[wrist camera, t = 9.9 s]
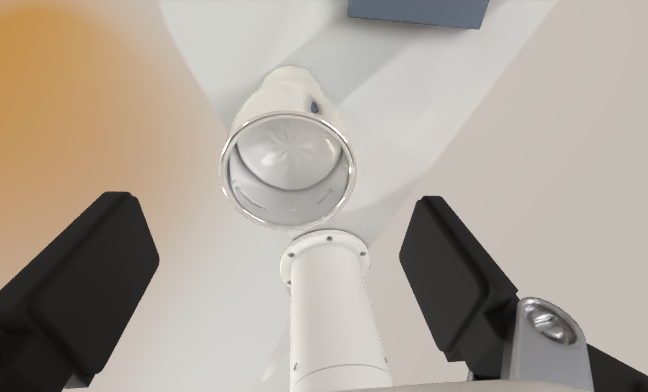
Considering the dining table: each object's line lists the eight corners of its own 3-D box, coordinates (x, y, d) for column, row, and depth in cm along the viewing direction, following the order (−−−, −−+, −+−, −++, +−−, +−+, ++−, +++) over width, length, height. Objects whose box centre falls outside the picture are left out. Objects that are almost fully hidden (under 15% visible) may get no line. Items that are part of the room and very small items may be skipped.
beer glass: (310, 45, 23) (331, 77, 10) (338, 119, 27) (377, 207, 14) (239, 79, 24) (179, 145, 11) (275, 146, 28) (261, 250, 15)
